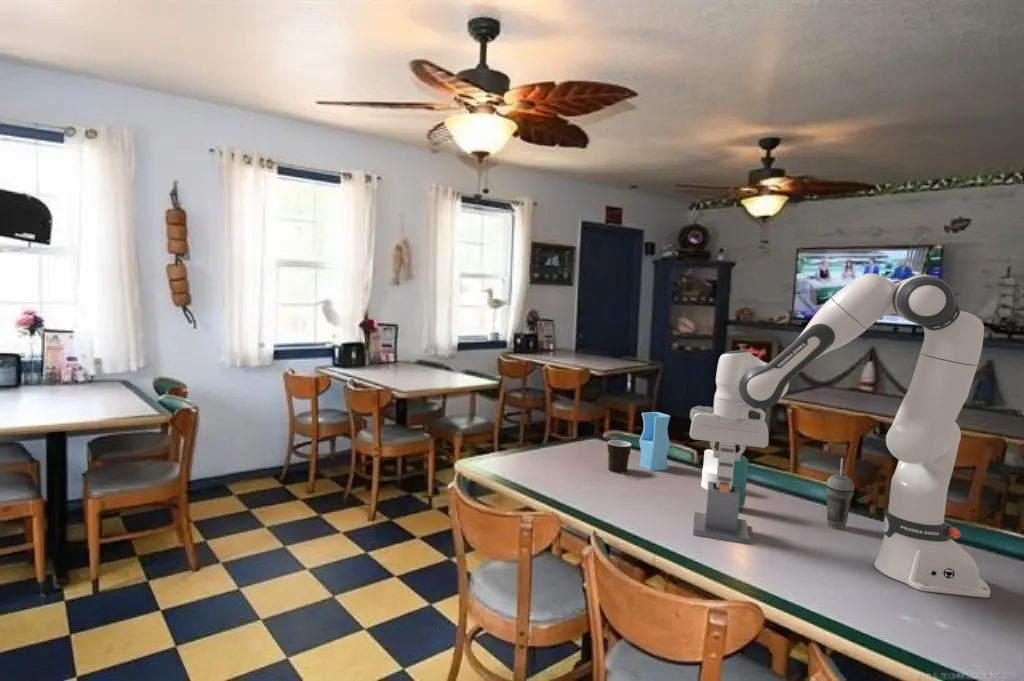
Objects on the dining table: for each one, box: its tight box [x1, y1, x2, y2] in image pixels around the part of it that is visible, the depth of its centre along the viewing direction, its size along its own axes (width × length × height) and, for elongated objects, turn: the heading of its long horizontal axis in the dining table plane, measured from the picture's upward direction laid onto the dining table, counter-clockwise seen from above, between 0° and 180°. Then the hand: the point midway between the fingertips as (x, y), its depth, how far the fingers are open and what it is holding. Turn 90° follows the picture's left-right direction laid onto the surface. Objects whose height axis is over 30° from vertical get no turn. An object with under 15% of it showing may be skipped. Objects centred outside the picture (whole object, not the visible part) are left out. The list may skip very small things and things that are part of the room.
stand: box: [692, 481, 750, 545], centre depth 163 cm, size 14×14×14 cm
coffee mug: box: [606, 439, 632, 474], centre depth 213 cm, size 12×9×10 cm
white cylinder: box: [700, 448, 718, 491], centre depth 201 cm, size 9×9×12 cm
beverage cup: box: [825, 457, 855, 531], centre depth 170 cm, size 7×7×20 cm
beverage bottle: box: [732, 444, 749, 508], centre depth 181 cm, size 6×7×20 cm
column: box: [716, 442, 736, 492], centre depth 163 cm, size 4×4×22 cm
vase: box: [638, 411, 671, 472], centre depth 221 cm, size 8×8×20 cm
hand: (726, 458), depth 162 cm, fingers closed on column, 4 cm apart
